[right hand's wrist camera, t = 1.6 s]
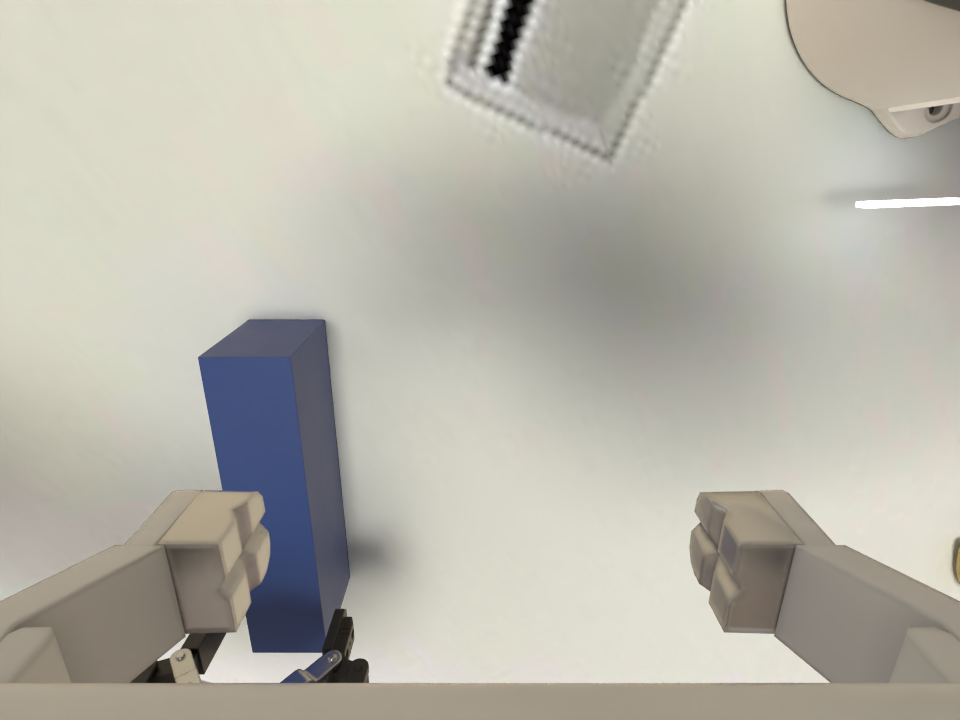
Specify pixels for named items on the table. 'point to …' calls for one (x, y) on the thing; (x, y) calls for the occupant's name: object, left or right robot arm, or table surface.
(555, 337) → the table surface
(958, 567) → the toy gun
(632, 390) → the table surface
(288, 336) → the bar
